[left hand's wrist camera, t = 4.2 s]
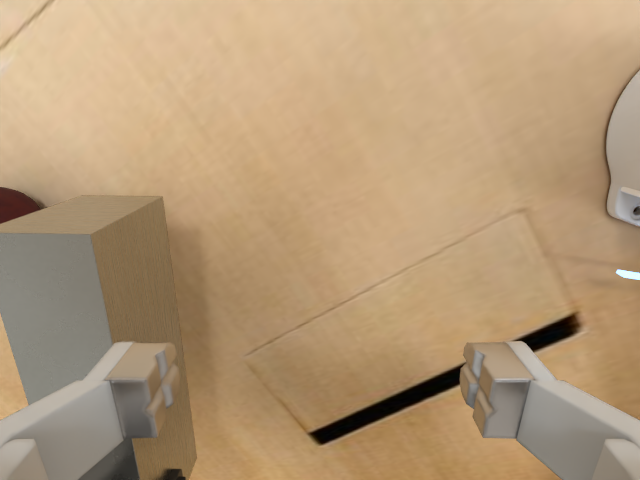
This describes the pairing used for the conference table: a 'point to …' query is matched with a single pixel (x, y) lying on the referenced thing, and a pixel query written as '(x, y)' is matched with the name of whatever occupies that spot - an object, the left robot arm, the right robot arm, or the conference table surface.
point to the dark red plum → (15, 205)
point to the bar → (95, 310)
